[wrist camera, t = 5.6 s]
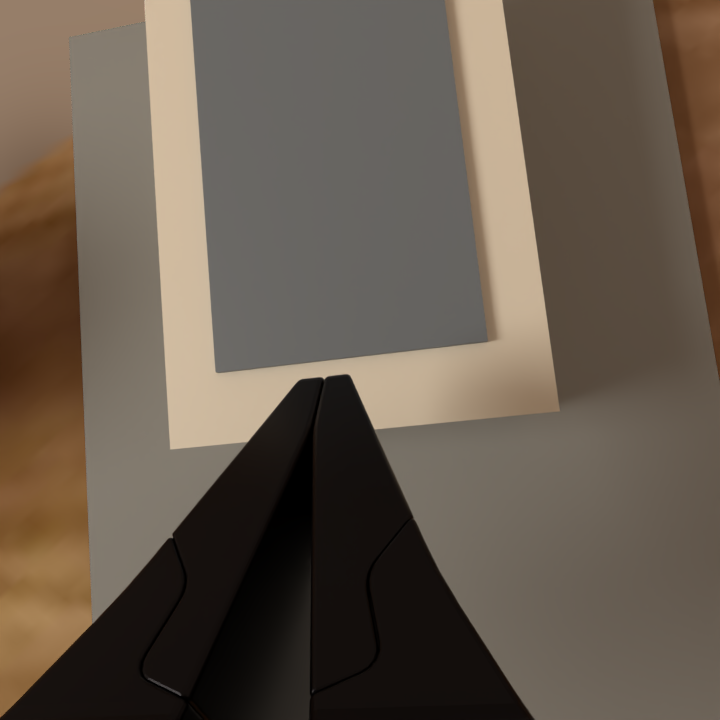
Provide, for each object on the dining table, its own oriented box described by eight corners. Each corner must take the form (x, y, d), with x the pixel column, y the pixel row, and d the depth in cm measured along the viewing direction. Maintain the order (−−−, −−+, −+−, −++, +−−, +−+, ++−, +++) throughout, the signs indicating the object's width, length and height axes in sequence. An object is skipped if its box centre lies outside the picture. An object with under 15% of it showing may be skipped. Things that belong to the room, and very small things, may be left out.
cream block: (562, 411, 11) (483, -147, 12) (165, 450, 12) (136, -68, 13) (525, 413, 15) (471, 10, 17) (243, 441, 16) (215, 59, 18)
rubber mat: (791, 882, 14) (812, 910, 13) (119, 877, 16) (103, 901, 15) (629, -58, 17) (638, -81, 16) (84, 52, 19) (69, 37, 19)
